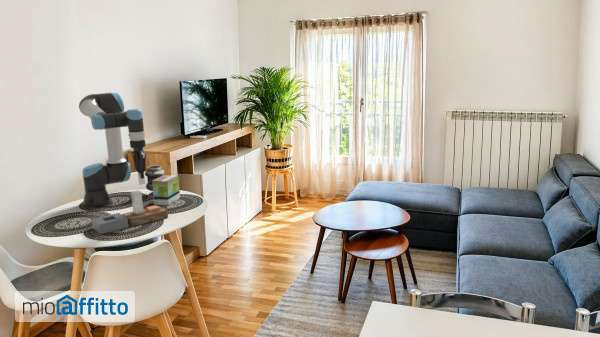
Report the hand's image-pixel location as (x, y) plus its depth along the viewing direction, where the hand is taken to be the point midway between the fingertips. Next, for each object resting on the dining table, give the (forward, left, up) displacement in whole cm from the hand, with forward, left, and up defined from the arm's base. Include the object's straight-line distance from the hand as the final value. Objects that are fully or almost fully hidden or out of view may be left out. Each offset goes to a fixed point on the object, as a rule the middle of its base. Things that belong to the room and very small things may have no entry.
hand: (142, 183), depth 252 cm
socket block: (0, 0, -19) cm, 19 cm away
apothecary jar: (-43, +25, -20) cm, 53 cm away
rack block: (0, -19, -19) cm, 27 cm away
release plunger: (0, +4, -19) cm, 19 cm away
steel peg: (0, -4, -19) cm, 20 cm away
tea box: (-23, +23, -20) cm, 38 cm away
